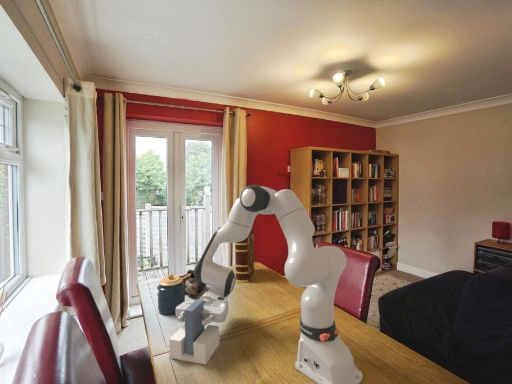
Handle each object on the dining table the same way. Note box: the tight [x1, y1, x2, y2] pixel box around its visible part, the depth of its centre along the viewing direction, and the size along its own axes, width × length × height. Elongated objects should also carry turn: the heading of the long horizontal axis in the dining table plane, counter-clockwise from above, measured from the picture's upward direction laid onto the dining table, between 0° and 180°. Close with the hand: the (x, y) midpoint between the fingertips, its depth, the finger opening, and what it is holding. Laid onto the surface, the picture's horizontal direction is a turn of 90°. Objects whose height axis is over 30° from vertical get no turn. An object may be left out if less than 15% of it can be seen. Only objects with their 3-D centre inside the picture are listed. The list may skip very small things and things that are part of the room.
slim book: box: [184, 298, 206, 355], centre depth 100 cm, size 3×9×16 cm, turn 164°
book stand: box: [169, 323, 221, 366], centre depth 100 cm, size 14×12×7 cm
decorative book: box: [234, 227, 255, 284], centre depth 175 cm, size 22×8×30 cm, turn 168°
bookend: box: [178, 269, 208, 297], centre depth 152 cm, size 15×11×25 cm
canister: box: [156, 273, 186, 316], centre depth 133 cm, size 13×13×18 cm
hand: (191, 322), depth 97 cm, fingers open, 8 cm apart
